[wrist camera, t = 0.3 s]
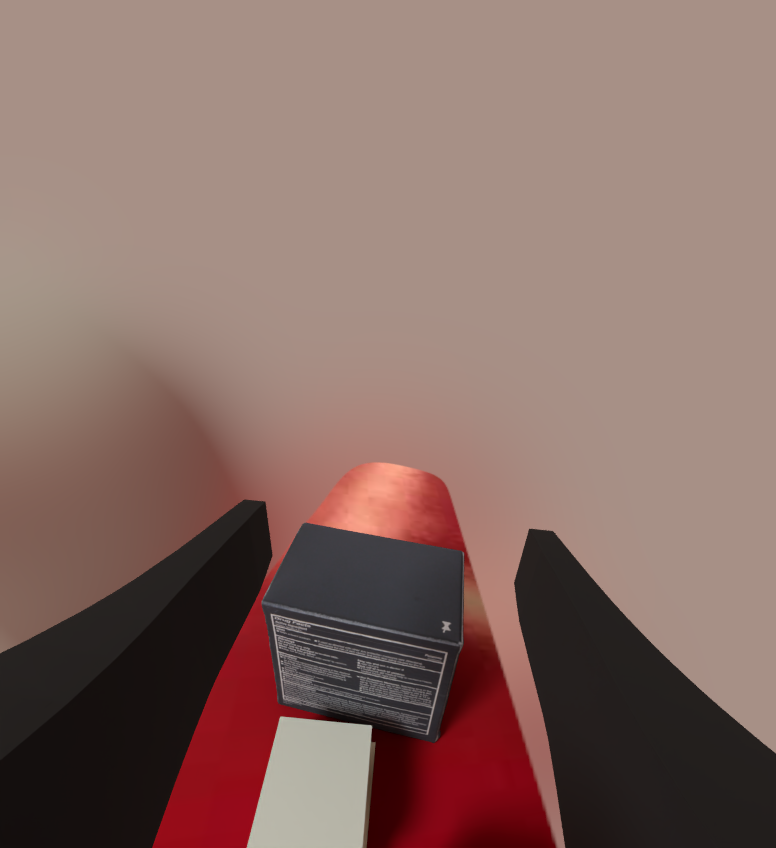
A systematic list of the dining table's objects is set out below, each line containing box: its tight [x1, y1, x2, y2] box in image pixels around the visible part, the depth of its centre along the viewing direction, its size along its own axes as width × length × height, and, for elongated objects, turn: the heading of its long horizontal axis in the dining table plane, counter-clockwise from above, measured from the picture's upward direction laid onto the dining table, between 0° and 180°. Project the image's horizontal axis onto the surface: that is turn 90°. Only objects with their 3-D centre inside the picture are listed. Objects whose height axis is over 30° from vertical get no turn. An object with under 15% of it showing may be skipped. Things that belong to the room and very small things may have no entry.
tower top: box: [247, 717, 372, 848], centre depth 19 cm, size 5×5×2 cm
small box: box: [262, 523, 464, 743], centre depth 24 cm, size 11×6×10 cm, turn 80°
